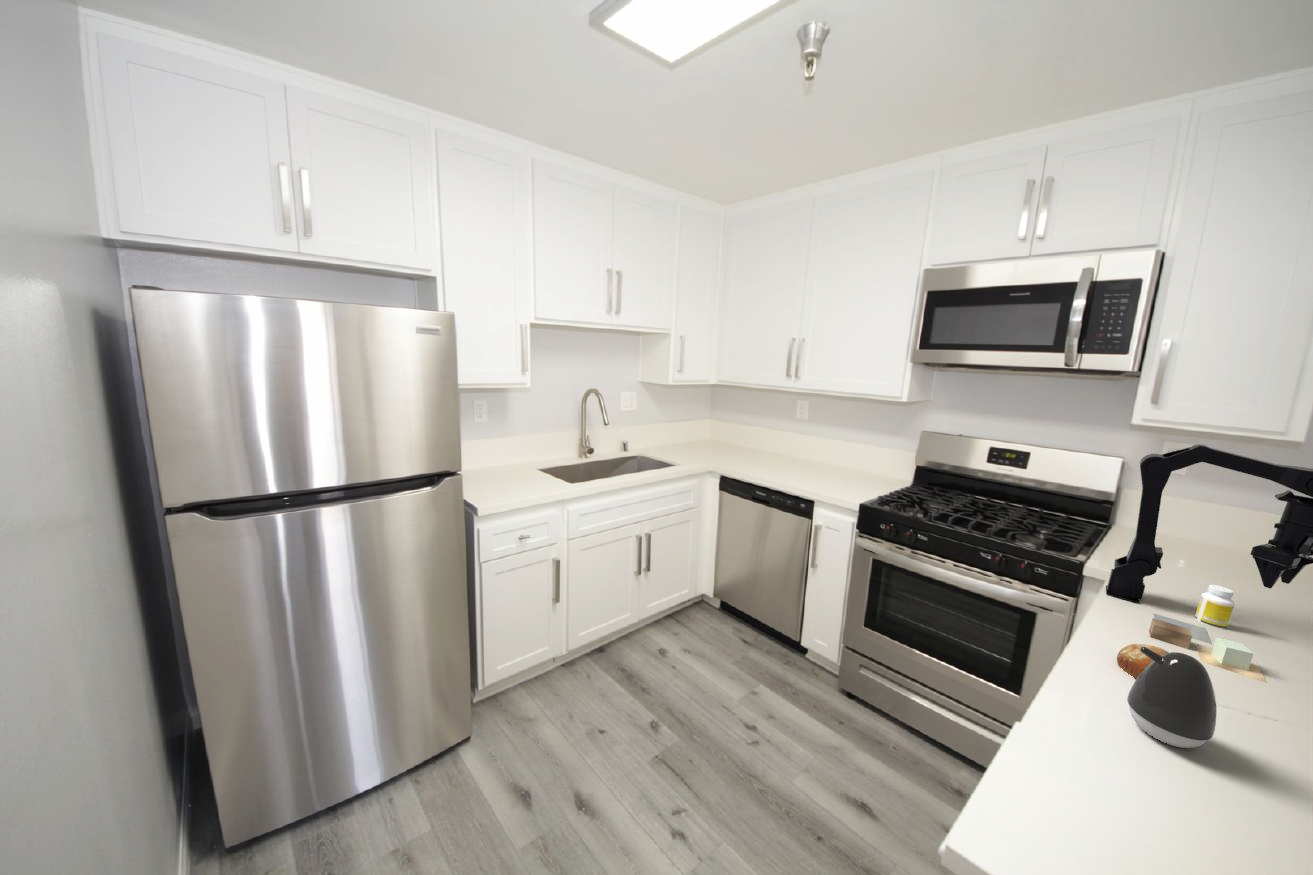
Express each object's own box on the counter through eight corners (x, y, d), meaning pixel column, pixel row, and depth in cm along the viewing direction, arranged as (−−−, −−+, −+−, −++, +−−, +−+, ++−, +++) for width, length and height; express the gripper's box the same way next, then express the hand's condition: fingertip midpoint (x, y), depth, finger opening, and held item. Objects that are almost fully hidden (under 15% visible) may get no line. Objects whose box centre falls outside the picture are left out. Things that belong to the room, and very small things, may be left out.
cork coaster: (1200, 663, 103) (1201, 661, 103) (1194, 645, 110) (1195, 643, 110) (1266, 685, 97) (1267, 682, 97) (1255, 664, 104) (1256, 662, 104)
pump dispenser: (1117, 702, 90) (1138, 629, 87) (1199, 732, 83) (1224, 655, 80) (1123, 734, 82) (1146, 655, 79) (1214, 770, 76) (1242, 686, 73)
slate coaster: (1155, 629, 116) (1156, 627, 116) (1152, 615, 123) (1153, 613, 122) (1211, 646, 110) (1212, 644, 110) (1204, 630, 117) (1205, 628, 117)
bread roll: (1166, 688, 100) (1165, 648, 102) (1205, 700, 91) (1202, 655, 93) (1107, 675, 103) (1107, 636, 105) (1139, 685, 94) (1138, 642, 96)
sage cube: (1221, 663, 103) (1226, 647, 102) (1210, 653, 106) (1216, 637, 105) (1248, 670, 101) (1253, 653, 100) (1236, 659, 104) (1241, 643, 104)
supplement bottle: (1233, 632, 117) (1245, 595, 115) (1206, 628, 118) (1218, 592, 116) (1212, 620, 122) (1224, 584, 120) (1187, 616, 123) (1198, 581, 121)
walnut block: (1149, 640, 111) (1154, 624, 111) (1148, 633, 114) (1152, 618, 114) (1187, 652, 107) (1192, 636, 107) (1184, 644, 110) (1189, 629, 110)
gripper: (1342, 541, 99) (1314, 609, 103) (1376, 534, 106) (1349, 598, 109) (1261, 521, 109) (1238, 583, 113) (1297, 515, 116) (1274, 574, 120)
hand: (1276, 585), depth 113 cm, fingers open, 9 cm apart
